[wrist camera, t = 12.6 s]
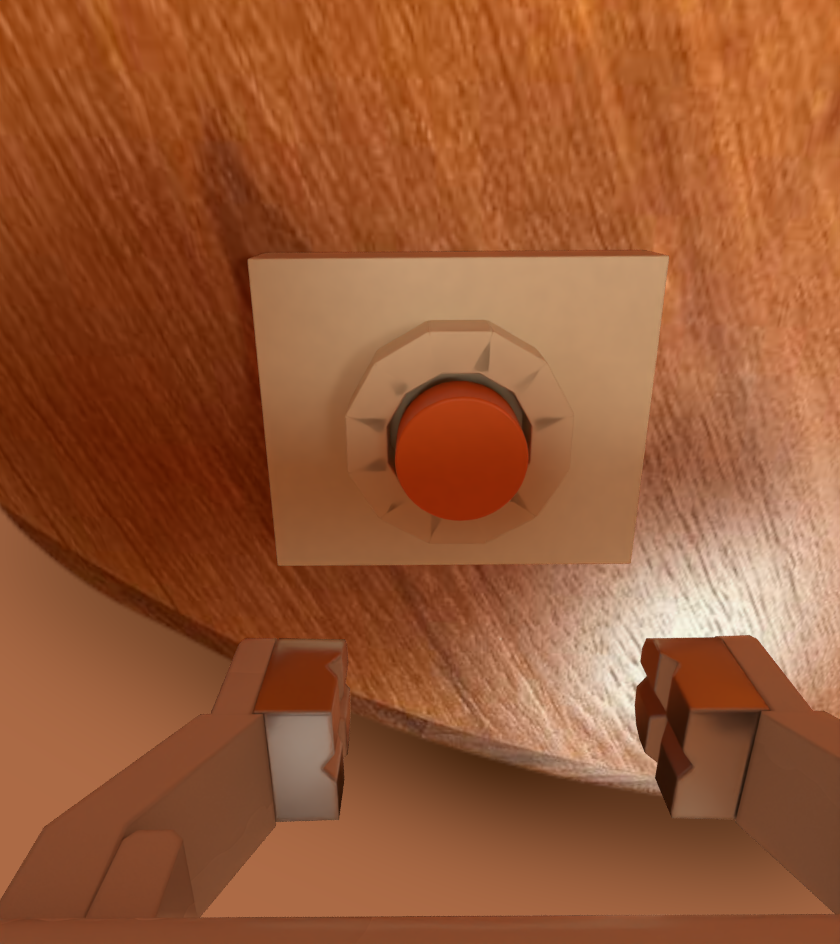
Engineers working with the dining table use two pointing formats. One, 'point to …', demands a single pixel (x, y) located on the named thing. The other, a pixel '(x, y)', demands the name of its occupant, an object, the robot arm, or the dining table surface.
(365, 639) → the dining table surface
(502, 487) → the button
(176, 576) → the dining table surface
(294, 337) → the button box
